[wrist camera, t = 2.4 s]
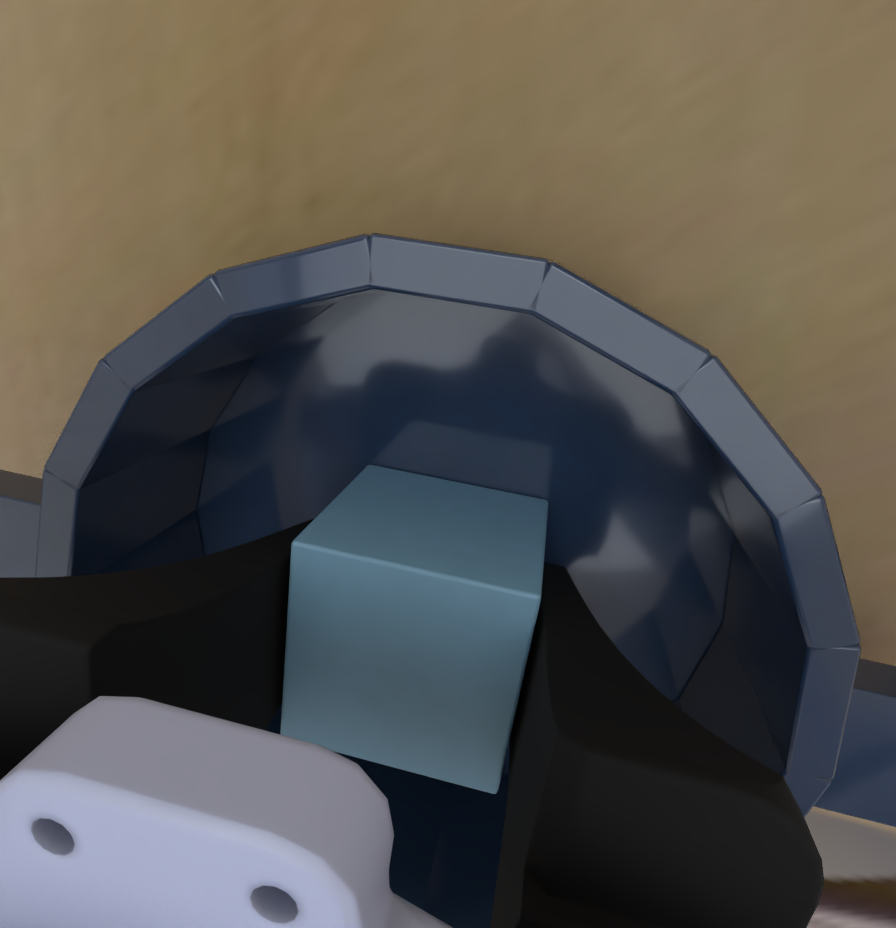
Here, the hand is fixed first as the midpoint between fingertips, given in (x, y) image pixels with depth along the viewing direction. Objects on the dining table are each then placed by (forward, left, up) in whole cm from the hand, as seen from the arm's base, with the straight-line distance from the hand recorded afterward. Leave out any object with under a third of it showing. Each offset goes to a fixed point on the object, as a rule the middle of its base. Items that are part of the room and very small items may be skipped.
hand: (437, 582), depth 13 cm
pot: (0, 0, -1) cm, 1 cm away
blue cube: (0, 0, -1) cm, 1 cm away
